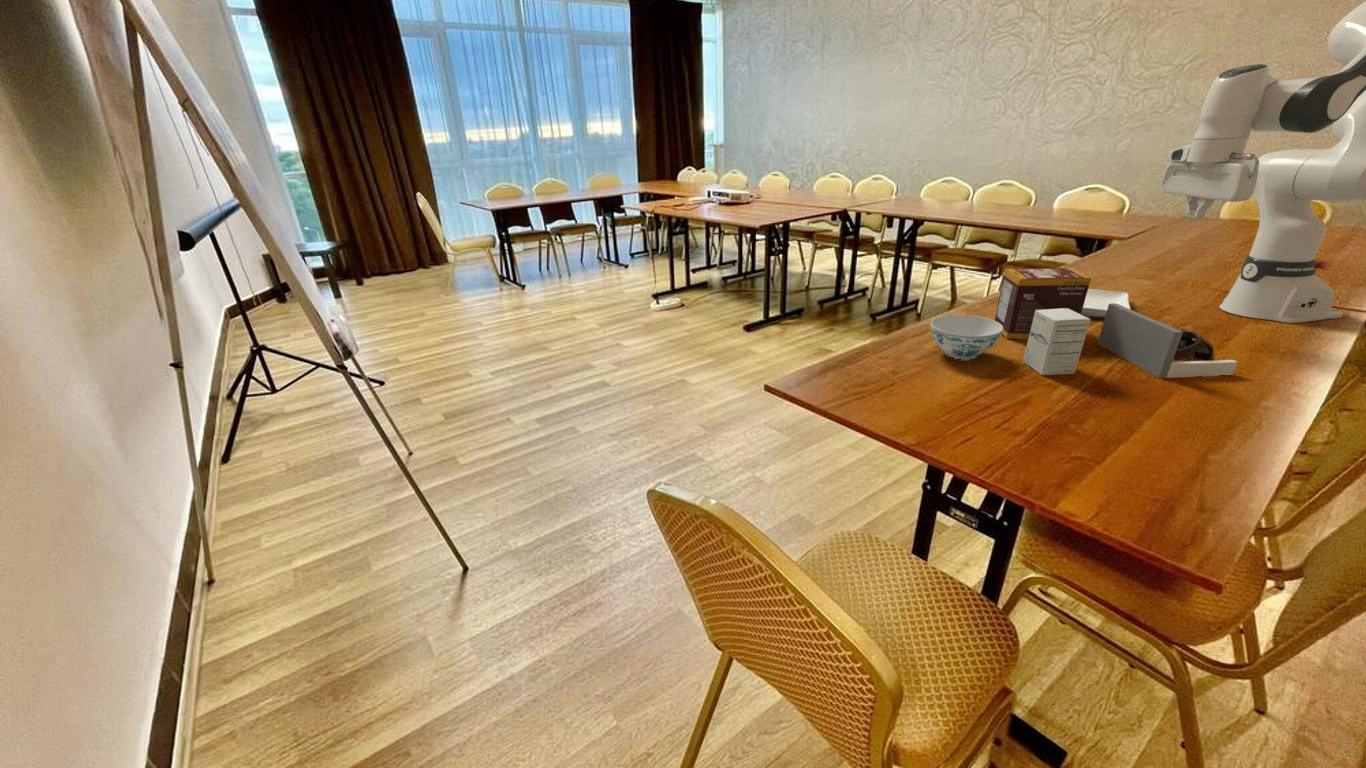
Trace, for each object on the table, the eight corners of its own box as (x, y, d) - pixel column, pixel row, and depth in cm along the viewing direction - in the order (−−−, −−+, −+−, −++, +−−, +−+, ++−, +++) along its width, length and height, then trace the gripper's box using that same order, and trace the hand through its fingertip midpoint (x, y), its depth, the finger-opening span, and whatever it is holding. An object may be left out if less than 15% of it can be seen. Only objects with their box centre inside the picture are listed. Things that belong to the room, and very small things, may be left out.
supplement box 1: (1075, 339, 127) (1092, 277, 121) (1006, 339, 131) (1019, 278, 124) (1057, 325, 137) (1072, 267, 130) (992, 325, 140) (1004, 268, 133)
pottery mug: (1222, 376, 107) (1214, 345, 104) (1162, 386, 113) (1152, 357, 110) (1209, 343, 115) (1201, 313, 112) (1153, 354, 121) (1144, 326, 118)
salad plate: (1037, 294, 161) (1040, 284, 160) (1125, 302, 150) (1128, 291, 148) (1031, 314, 146) (1034, 303, 145) (1128, 325, 135) (1132, 312, 133)
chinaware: (1004, 351, 124) (1011, 321, 121) (985, 373, 114) (992, 340, 111) (939, 339, 134) (943, 310, 130) (916, 358, 124) (920, 328, 121)
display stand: (1159, 341, 123) (1173, 300, 119) (1232, 375, 106) (1252, 329, 101) (1097, 343, 124) (1109, 303, 120) (1158, 377, 107) (1175, 332, 103)
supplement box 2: (1021, 362, 118) (1033, 309, 113) (1055, 360, 118) (1069, 307, 112) (1040, 375, 111) (1054, 320, 106) (1076, 374, 111) (1092, 318, 106)
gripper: (1278, 152, 104) (1251, 223, 110) (1192, 149, 122) (1173, 210, 128) (1244, 155, 104) (1219, 226, 110) (1163, 152, 123) (1146, 212, 129)
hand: (1194, 217), depth 119 cm, fingers closed
